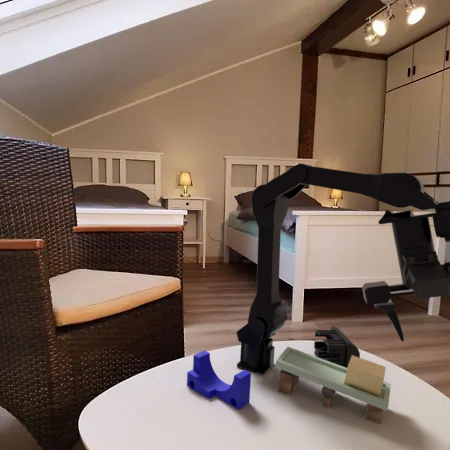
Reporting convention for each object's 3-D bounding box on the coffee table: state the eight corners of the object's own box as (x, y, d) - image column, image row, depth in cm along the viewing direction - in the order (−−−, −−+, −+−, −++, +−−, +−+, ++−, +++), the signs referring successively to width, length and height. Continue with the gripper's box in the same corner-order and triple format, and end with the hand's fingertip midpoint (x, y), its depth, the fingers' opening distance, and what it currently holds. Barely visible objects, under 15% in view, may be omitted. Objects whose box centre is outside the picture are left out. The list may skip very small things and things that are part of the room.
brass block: (343, 386, 66) (347, 365, 65) (347, 374, 70) (351, 355, 69) (378, 399, 63) (383, 378, 62) (381, 386, 67) (385, 366, 67)
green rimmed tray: (274, 370, 70) (276, 360, 70) (286, 355, 77) (287, 346, 76) (386, 414, 61) (388, 403, 61) (388, 393, 68) (390, 384, 68)
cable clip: (186, 386, 71) (187, 357, 71) (203, 378, 75) (204, 350, 74) (233, 414, 64) (235, 381, 63) (249, 403, 67) (251, 372, 66)
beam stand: (277, 393, 70) (278, 373, 70) (288, 377, 77) (289, 358, 76) (380, 425, 62) (382, 403, 62) (383, 404, 68) (385, 384, 68)
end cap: (358, 373, 80) (361, 343, 79) (327, 373, 79) (329, 343, 78) (341, 352, 90) (343, 326, 89) (312, 352, 89) (314, 325, 88)
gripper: (361, 259, 57) (379, 359, 56) (499, 239, 52) (521, 349, 51) (355, 253, 67) (371, 337, 67) (469, 236, 63) (487, 327, 62)
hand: (431, 338), depth 61 cm, fingers open, 9 cm apart
